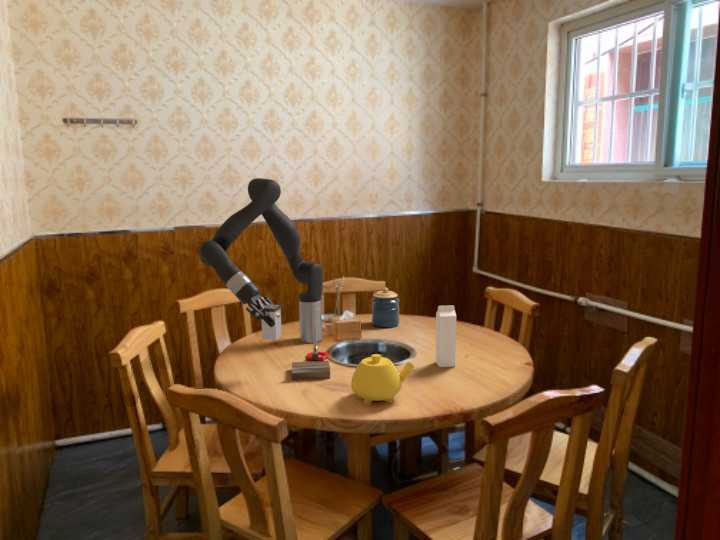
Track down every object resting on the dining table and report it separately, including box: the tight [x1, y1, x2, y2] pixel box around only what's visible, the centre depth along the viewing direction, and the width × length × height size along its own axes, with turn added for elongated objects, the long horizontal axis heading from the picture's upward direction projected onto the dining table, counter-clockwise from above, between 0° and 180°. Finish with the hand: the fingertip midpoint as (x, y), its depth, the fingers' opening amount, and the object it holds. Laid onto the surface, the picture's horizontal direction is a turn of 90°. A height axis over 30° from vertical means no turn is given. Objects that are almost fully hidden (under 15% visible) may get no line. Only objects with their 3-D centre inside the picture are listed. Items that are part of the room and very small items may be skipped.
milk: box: [435, 305, 457, 368], centre depth 198 cm, size 6×6×22 cm
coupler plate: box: [291, 360, 331, 381], centre depth 192 cm, size 11×13×4 cm
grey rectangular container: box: [261, 304, 283, 341], centre depth 188 cm, size 6×5×11 cm
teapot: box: [350, 353, 415, 405], centre depth 170 cm, size 20×16×14 cm
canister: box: [371, 287, 400, 328], centre depth 254 cm, size 13×13×18 cm
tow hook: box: [306, 327, 330, 362], centre depth 209 cm, size 8×13×9 cm
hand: (276, 323), depth 187 cm, fingers closed on grey rectangular container, 5 cm apart
